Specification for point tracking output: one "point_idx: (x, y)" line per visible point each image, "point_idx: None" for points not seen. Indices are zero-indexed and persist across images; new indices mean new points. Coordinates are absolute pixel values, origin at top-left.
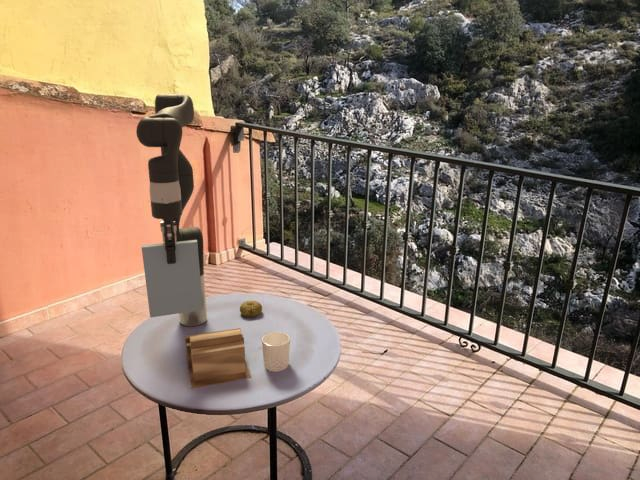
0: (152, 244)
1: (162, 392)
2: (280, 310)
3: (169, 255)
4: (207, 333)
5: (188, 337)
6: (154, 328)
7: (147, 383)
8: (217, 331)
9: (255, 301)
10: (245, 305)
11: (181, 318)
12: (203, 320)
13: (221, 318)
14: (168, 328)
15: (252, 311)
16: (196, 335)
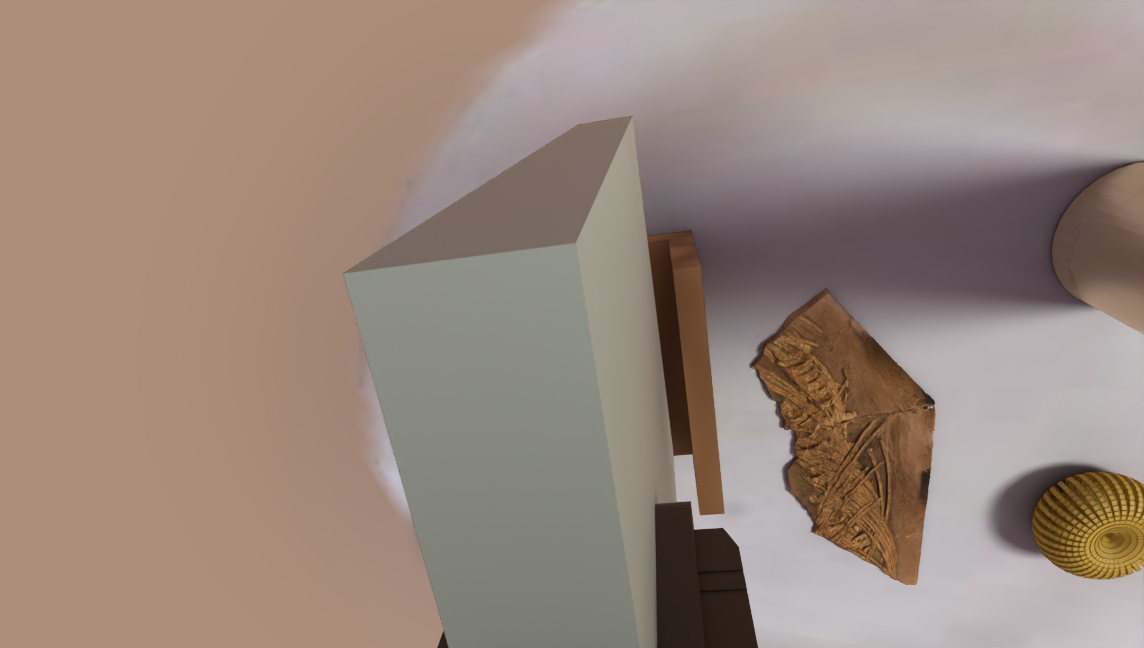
0: (590, 524)
1: (473, 146)
2: (1055, 623)
3: (445, 646)
4: (704, 373)
5: (680, 284)
6: (1121, 14)
7: (546, 71)
8: (713, 417)
9: (1136, 566)
10: (1106, 519)
11: (1125, 183)
12: (1077, 296)
13: (1087, 376)
14: (1084, 102)
15: (1044, 533)
16: (694, 321)
